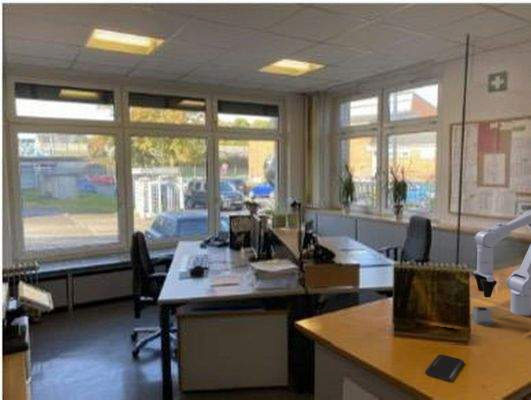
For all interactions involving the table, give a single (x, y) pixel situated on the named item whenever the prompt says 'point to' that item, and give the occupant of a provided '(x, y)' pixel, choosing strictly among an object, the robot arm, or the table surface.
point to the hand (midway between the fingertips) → (484, 294)
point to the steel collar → (482, 315)
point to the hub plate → (483, 324)
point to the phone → (444, 367)
